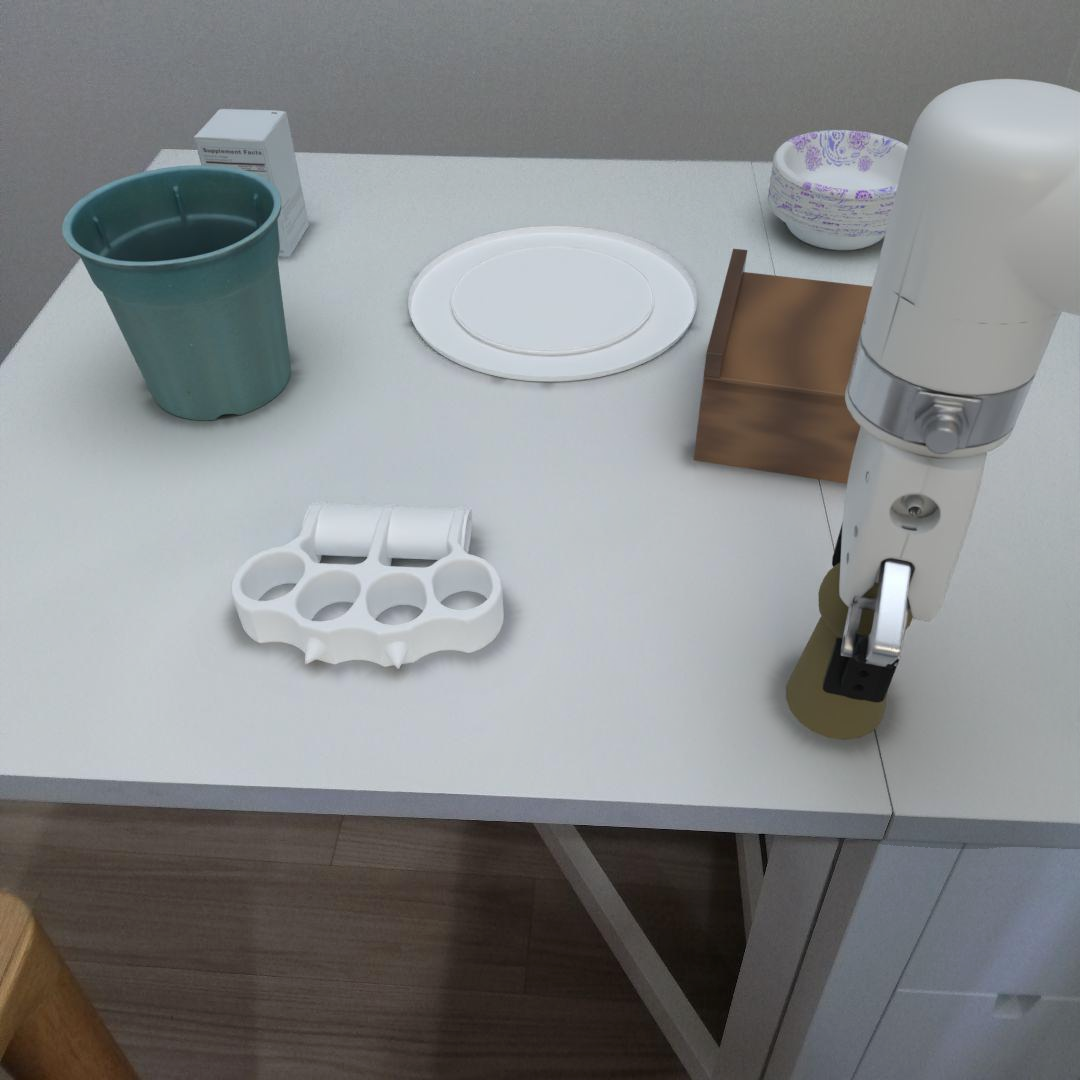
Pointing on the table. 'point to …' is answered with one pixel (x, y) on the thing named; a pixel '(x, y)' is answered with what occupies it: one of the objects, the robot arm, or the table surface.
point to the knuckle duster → (372, 585)
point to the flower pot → (191, 283)
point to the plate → (552, 303)
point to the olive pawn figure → (806, 681)
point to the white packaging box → (259, 160)
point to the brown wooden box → (781, 375)
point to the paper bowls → (836, 186)
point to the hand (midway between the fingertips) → (855, 627)
